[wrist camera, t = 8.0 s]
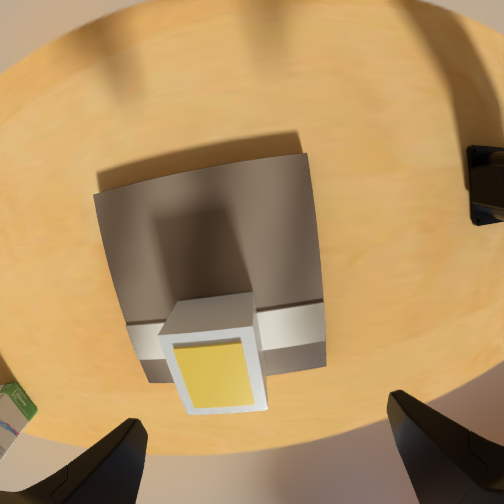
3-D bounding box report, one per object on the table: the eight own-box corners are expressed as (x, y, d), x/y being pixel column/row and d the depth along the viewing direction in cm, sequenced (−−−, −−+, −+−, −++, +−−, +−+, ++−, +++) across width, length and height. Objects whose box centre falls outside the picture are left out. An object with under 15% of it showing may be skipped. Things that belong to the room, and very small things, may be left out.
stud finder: (253, 291, 18) (252, 327, 14) (265, 366, 20) (268, 412, 15) (177, 301, 18) (156, 337, 14) (198, 373, 20) (187, 416, 15)
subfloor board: (303, 154, 17) (307, 152, 16) (323, 357, 21) (327, 367, 20) (101, 193, 18) (91, 195, 17) (153, 374, 22) (148, 384, 20)
